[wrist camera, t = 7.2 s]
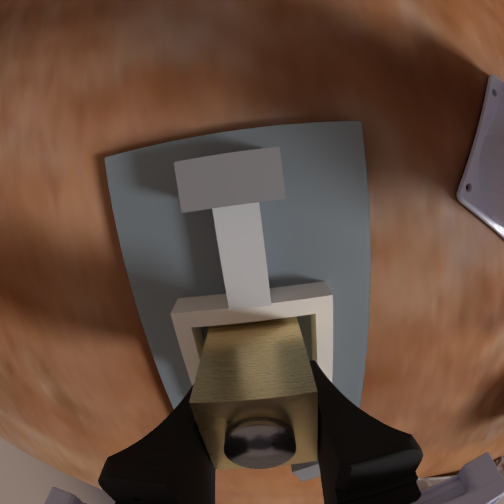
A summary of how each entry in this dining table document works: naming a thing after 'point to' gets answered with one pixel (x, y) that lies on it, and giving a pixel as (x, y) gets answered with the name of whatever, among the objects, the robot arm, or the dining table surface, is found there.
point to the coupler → (256, 396)
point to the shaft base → (293, 227)
